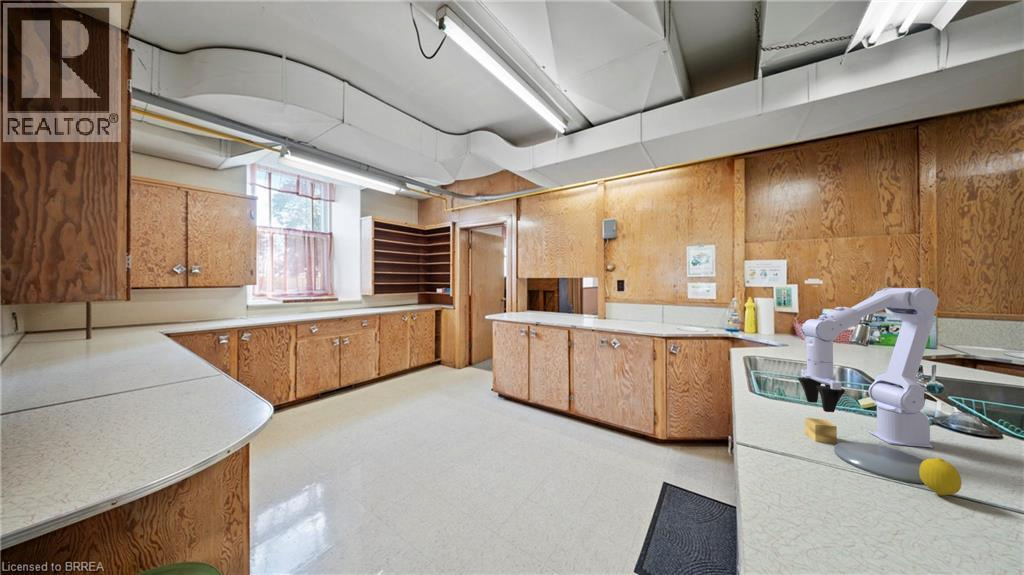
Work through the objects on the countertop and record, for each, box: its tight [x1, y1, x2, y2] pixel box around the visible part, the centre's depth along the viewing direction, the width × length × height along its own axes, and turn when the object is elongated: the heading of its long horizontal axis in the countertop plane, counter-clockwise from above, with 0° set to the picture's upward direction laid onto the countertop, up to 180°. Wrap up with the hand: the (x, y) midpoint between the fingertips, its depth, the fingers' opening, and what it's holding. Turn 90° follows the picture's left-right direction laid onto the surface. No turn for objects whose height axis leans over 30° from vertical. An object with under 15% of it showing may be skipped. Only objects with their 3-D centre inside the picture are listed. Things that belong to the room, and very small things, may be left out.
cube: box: [804, 417, 838, 444], centre depth 97 cm, size 5×5×5 cm
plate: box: [833, 441, 925, 484], centre depth 83 cm, size 18×18×1 cm
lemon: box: [919, 457, 962, 497], centre depth 70 cm, size 6×6×8 cm
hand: (820, 406), depth 96 cm, fingers open, 7 cm apart
